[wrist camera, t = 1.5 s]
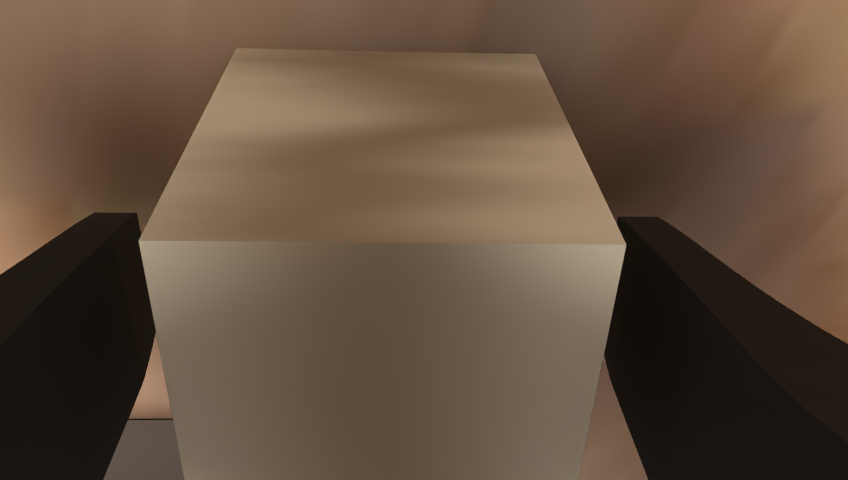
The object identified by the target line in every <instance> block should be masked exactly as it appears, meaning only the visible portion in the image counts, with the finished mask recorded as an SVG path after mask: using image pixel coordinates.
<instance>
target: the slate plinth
mask: <svg viewBox="0 0 848 480" xmlns="http://www.w3.org/2000/svg"><path fill="white" fill-rule="evenodd" d="M103 480H185V479H184V474H183V469H182V464H181V459H180V453H179V448H178V443H177V438H176V433H175V427H174V422H173V420H128V421H127V423H126V426H125V428H124V431H123V433H122V436H121V438H120V440H119V443H118V445H117V448H116V450H115V453H114V455H113V457H112V460H111V462H110V465H109V467H108V469H107V472H106V474H105V477H104V479H103Z"/></svg>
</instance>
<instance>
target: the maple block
mask: <svg viewBox="0 0 848 480" xmlns="http://www.w3.org/2000/svg"><path fill="white" fill-rule="evenodd" d="M139 246H140V251H141V256H142V262H143V267H144V272H145V277H146V282H147V288H148V293H149V298H150V303H151V308H152V313H153V319H154V324H155V329H156V334H157V339H158V345H159V350H160V355H161V360H162V365H163V370H164V376H165V381H166V386H167V391H168V396H169V402H170V407H171V412H172V417H173V422H174V427H175V433H176V438H177V443H178V448H179V453H180V459H181V464H182V469H183V474H184V479H185V480H578V478H579V473H580V468H581V463H582V458H583V454H584V449H585V444H586V439H587V434H588V429H589V424H590V419H591V415H592V410H593V405H594V400H595V395H596V390H597V385H598V381H599V376H600V371H601V366H602V361H603V356H604V351H605V347H606V342H607V337H608V332H609V327H610V322H611V317H612V313H613V308H614V303H615V298H616V293H617V288H618V283H619V278H620V274H621V269H622V264H623V259H624V254H625V249H626V243H625V241H624V238H623V236H622V234H621V232H620V230H619V228H618V226H617V224H616V222H615V220H614V217H613V215H612V213H611V211H610V209H609V207H608V205H607V203H606V201H605V199H604V197H603V194H602V192H601V190H600V188H599V186H598V184H597V182H596V180H595V178H594V176H593V173H592V171H591V169H590V167H589V165H588V163H587V161H586V159H585V157H584V155H583V152H582V150H581V148H580V146H579V144H578V142H577V140H576V138H575V136H574V134H573V131H572V129H571V127H570V125H569V123H568V121H567V119H566V117H565V115H564V113H563V110H562V108H561V106H560V104H559V102H558V100H557V98H556V96H555V94H554V92H553V89H552V87H551V85H550V83H549V81H548V79H547V77H546V75H545V73H544V71H543V68H542V66H541V64H540V62H539V60H538V58H537V56H536V54H506V53H457V52H409V51H360V50H311V49H262V48H236V50H235V52H234V53H233V55H232V57H231V59H230V61H229V63H228V65H227V67H226V69H225V71H224V73H223V75H222V77H221V79H220V81H219V83H218V85H217V87H216V89H215V91H214V93H213V95H212V97H211V99H210V101H209V103H208V105H207V107H206V109H205V111H204V113H203V115H202V117H201V119H200V121H199V122H198V124H197V126H196V128H195V130H194V132H193V134H192V136H191V138H190V140H189V142H188V144H187V146H186V148H185V150H184V152H183V154H182V156H181V158H180V160H179V162H178V164H177V166H176V168H175V170H174V172H173V174H172V176H171V178H170V180H169V182H168V184H167V186H166V188H165V189H164V191H163V193H162V195H161V197H160V199H159V201H158V203H157V205H156V207H155V209H154V211H153V213H152V215H151V217H150V219H149V221H148V223H147V225H146V227H145V229H144V231H143V233H142V235H141V237H140V239H139Z"/></svg>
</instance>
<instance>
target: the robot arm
mask: <svg viewBox="0 0 848 480" xmlns="http://www.w3.org/2000/svg"><path fill="white" fill-rule="evenodd" d="M617 226H618V228H619V230H620V232H621V234H622V236H623V238H624V241H625V243H626V249H625V254H624V259H623V264H622V269H621V274H620V278H619V283H618V288H617V293H616V298H615V303H614V308H613V313H612V317H611V322H610V327H609V332H608V337H607V342H606V347H605V351H604V355H605V360H606V364H607V368H608V372H609V376H610V380H611V382H612V385H613V388H614V391H615V393H616V396H617V399H618V401H619V404H620V407H621V409H622V412H623V415H624V417H625V420H626V423H627V425H628V428H629V430H630V433H631V436H632V438H633V441H634V443H635V446H636V448H637V451H638V454H639V456H640V459H641V461H642V464H643V467H644V469H645V472H646V474H647V477H648V480H848V344H847V343H845V342H843V341H841V340H840V339H838V338H836V337H834V336H833V335H831V334H829V333H828V332H826V331H824V330H822V329H821V328H819V327H817V326H816V325H814V324H812V323H811V322H809V321H808V320H806V319H805V318H803V317H801V316H800V315H798V314H797V313H795V312H794V311H792V310H790V309H789V308H787V307H786V306H784V305H783V304H781V303H779V302H778V301H777V300H775V299H774V298H772V297H771V296H769V295H768V294H766V293H765V292H763V291H762V290H760V289H759V288H757V287H756V286H755V285H753V284H752V283H750V282H749V281H747V280H746V279H745V278H743V277H742V276H740V275H739V274H738V273H736V272H735V271H733V270H732V269H731V268H729V267H728V266H727V265H725V264H724V263H722V262H721V261H720V260H718V259H717V258H716V257H714V256H713V255H712V254H710V253H709V252H708V251H706V250H705V249H703V248H702V247H701V246H699V245H698V244H697V243H695V242H694V241H693V240H691V239H690V238H689V237H687V236H686V235H684V234H683V233H682V232H680V231H679V230H677V229H676V228H674V227H673V226H672V225H670V224H669V223H667V222H665V221H664V220H662V219H660V218H659V217H618V221H617ZM140 237H141V232H140V227H139V222H138V217H137V213H93V214H92V215H90V216H88V217H86V218H84V219H83V220H81V221H79V222H78V223H76V224H75V225H73V226H72V227H70V228H69V229H67V230H66V231H64V232H63V233H61V234H60V235H58V236H57V237H55V238H54V239H52V240H51V241H49V242H48V243H47V244H45V245H44V246H42V247H41V248H39V249H38V250H36V251H35V252H33V253H32V254H30V255H29V256H27V257H26V258H25V259H23V260H22V261H20V262H19V263H17V264H16V265H14V266H13V267H11V268H10V269H8V270H7V271H5V272H4V273H2V274H1V275H0V480H103V479H104V477H105V474H106V472H107V469H108V467H109V465H110V462H111V460H112V457H113V455H114V453H115V450H116V448H117V445H118V443H119V440H120V438H121V436H122V433H123V431H124V428H125V426H126V423H127V421H128V418H129V416H130V413H131V411H132V408H133V406H134V404H135V401H136V399H137V396H138V394H139V391H140V388H141V386H142V383H143V381H144V377H145V374H146V370H147V366H148V362H149V358H150V354H151V350H152V346H153V342H154V337H155V333H156V329H155V324H154V319H153V313H152V308H151V303H150V298H149V293H148V288H147V282H146V277H145V272H144V267H143V262H142V256H141V251H140V246H139V239H140Z"/></svg>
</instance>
